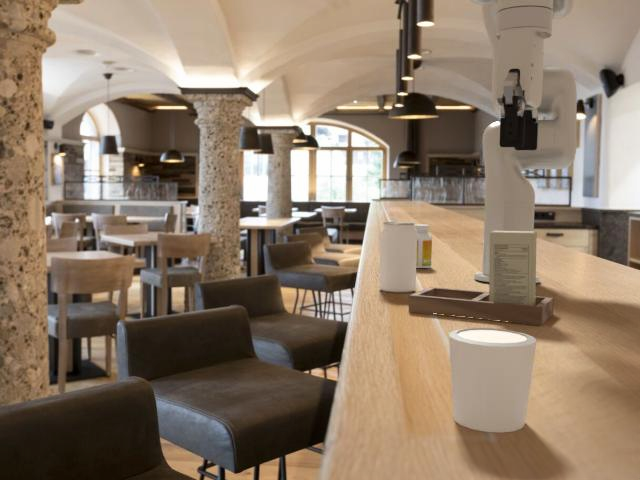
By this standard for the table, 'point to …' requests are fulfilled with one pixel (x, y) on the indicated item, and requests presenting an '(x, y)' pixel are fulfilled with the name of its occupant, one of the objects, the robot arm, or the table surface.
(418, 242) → the supplement bottle
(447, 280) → the table surface
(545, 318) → the divided wooden tray
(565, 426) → the table surface
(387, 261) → the can
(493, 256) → the skincare box
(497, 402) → the white tapered cup
